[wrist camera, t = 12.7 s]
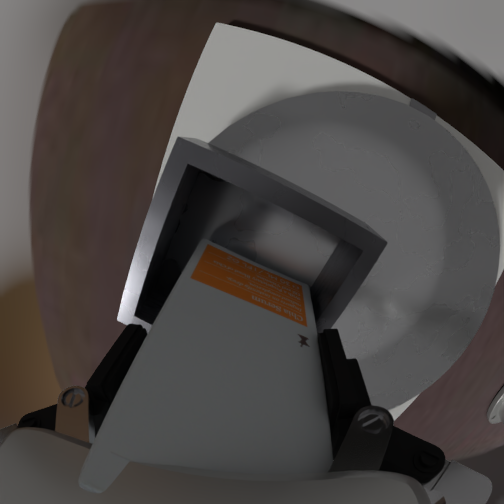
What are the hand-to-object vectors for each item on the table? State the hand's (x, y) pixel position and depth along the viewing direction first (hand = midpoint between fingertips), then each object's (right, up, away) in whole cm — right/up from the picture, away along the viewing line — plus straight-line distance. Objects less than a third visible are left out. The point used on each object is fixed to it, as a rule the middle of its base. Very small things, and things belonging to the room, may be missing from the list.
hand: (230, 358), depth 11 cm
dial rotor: (+6, +2, +5) cm, 8 cm away
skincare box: (0, +2, +4) cm, 5 cm away
